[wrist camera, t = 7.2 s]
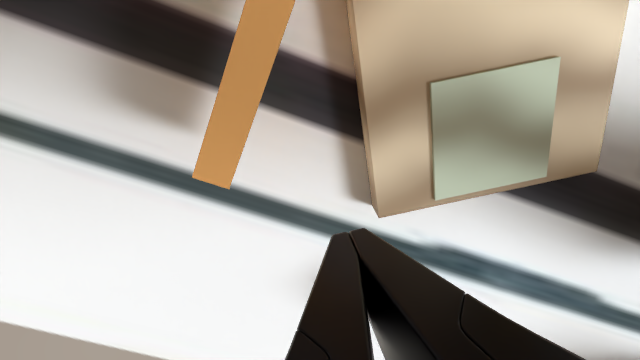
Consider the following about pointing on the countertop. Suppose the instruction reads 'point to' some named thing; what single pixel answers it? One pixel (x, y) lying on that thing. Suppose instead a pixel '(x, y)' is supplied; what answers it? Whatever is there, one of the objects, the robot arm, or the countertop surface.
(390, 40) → the socket board
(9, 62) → the countertop surface
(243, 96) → the clip bar
